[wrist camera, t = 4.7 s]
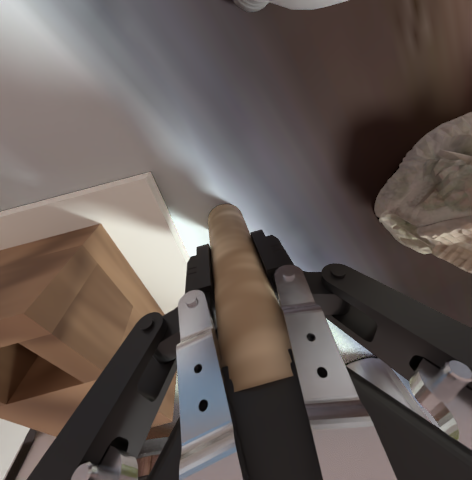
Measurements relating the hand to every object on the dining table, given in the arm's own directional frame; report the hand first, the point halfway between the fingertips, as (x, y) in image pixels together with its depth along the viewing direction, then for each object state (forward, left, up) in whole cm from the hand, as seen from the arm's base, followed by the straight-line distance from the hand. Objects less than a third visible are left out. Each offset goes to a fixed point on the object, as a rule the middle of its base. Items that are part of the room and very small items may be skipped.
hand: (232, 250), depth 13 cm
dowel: (0, 0, -4) cm, 4 cm away
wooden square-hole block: (+11, +4, -3) cm, 12 cm away
